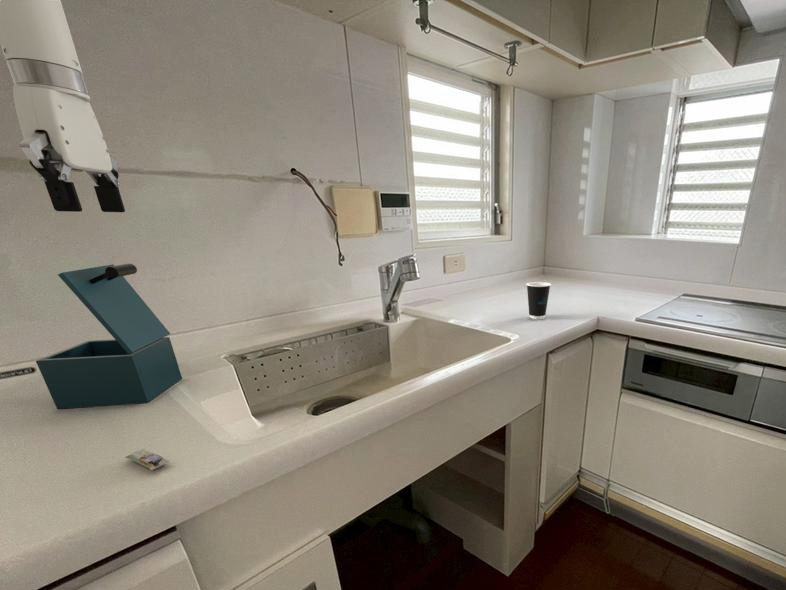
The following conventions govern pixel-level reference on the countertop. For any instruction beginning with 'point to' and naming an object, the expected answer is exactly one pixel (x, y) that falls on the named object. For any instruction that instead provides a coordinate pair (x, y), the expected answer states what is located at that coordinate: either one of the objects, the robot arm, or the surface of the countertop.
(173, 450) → the countertop surface
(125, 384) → the teal box
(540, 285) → the dixie cup
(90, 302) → the teal handled lid
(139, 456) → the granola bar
